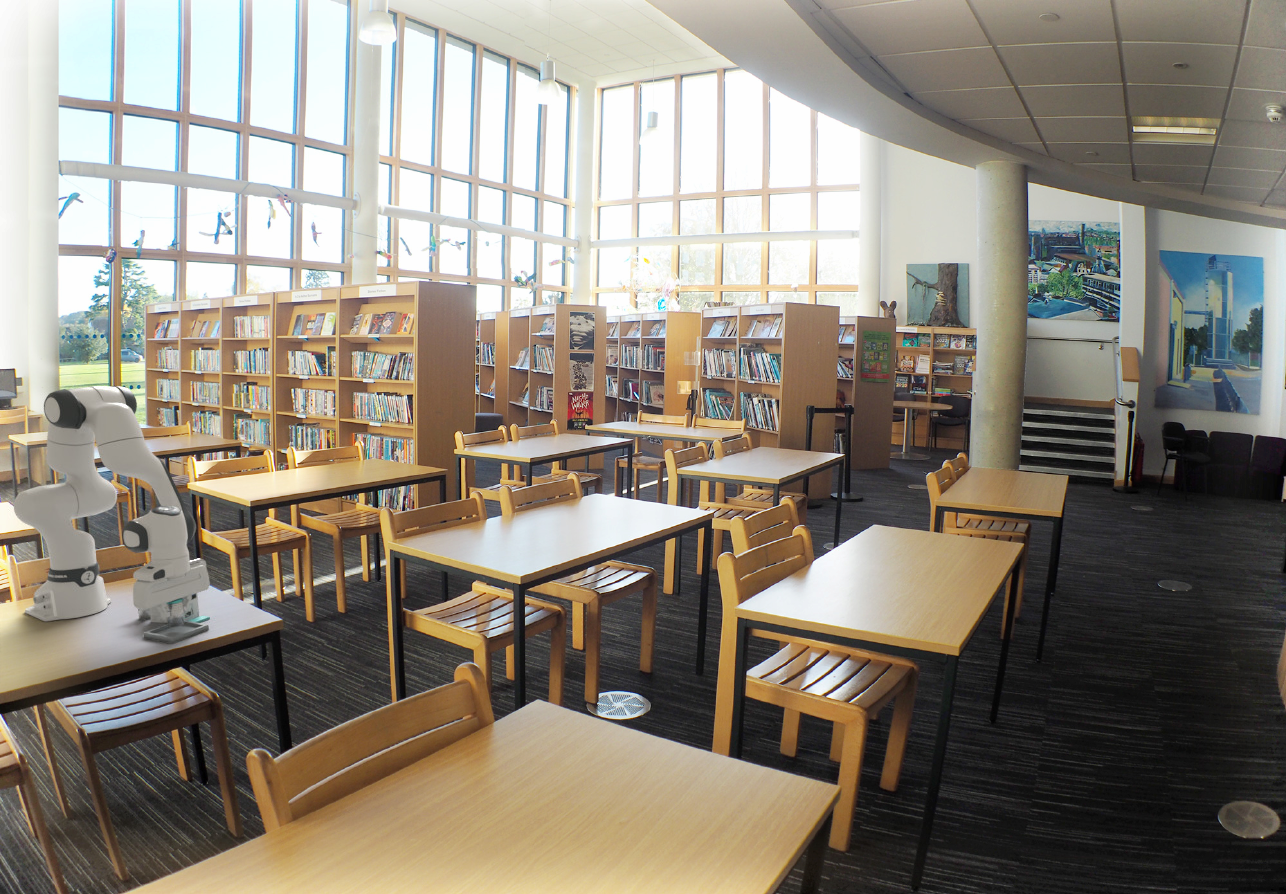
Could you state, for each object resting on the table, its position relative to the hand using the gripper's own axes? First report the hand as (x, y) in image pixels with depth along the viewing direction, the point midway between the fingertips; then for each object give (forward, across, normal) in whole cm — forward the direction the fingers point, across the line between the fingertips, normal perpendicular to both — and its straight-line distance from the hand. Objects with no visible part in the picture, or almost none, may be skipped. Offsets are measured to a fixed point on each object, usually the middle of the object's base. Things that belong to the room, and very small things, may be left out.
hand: (175, 615), depth 215 cm
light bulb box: (+6, -8, -11) cm, 15 cm away
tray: (+5, 0, 0) cm, 5 cm away
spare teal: (+3, 0, 0) cm, 3 cm away
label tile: (+5, -10, -4) cm, 11 cm away
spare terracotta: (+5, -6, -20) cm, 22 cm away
